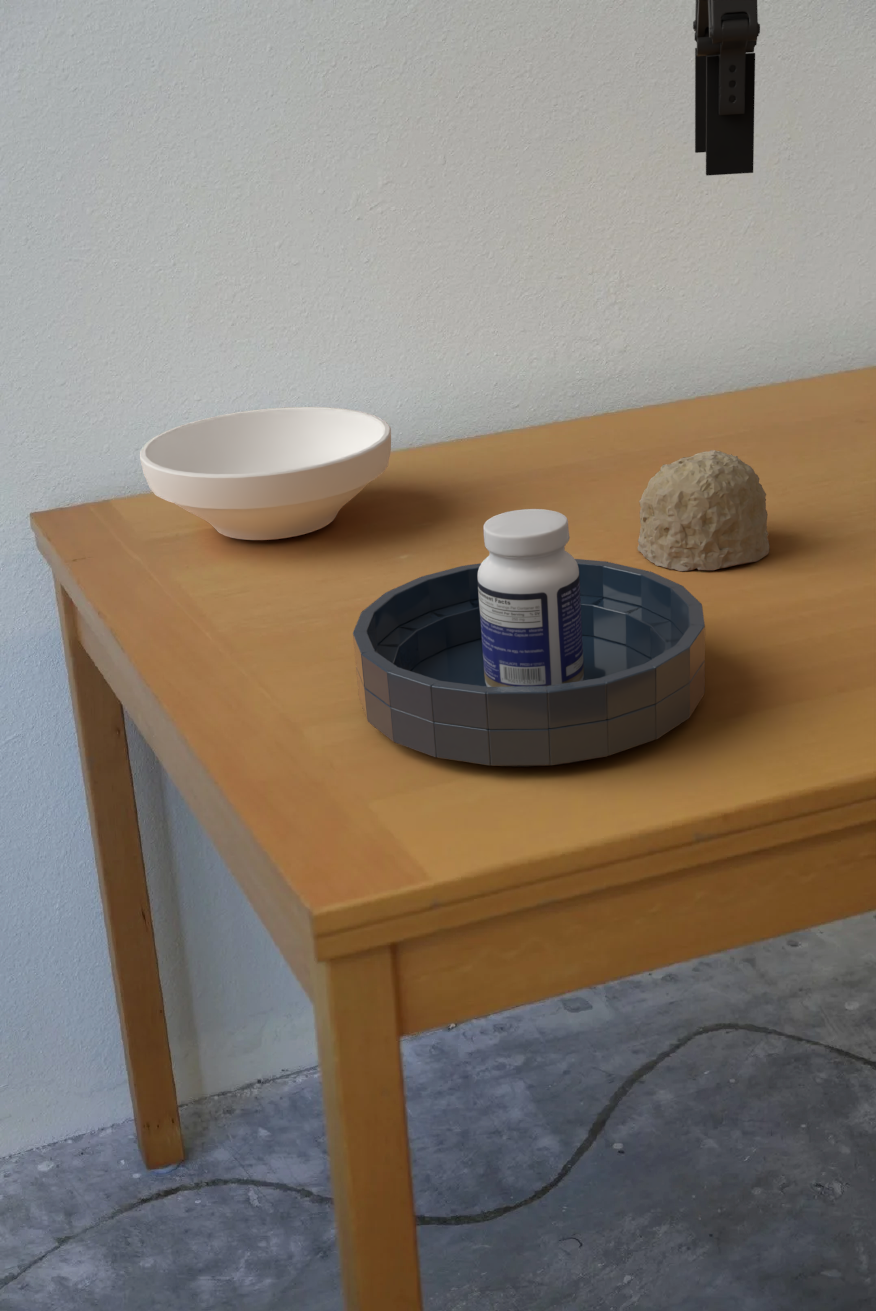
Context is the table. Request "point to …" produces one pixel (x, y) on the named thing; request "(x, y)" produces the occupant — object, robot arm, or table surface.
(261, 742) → the table surface
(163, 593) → the table surface
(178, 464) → the bowl
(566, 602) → the pill bottle
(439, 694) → the blue bowl
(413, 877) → the table surface
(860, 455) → the table surface
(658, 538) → the beige rock
